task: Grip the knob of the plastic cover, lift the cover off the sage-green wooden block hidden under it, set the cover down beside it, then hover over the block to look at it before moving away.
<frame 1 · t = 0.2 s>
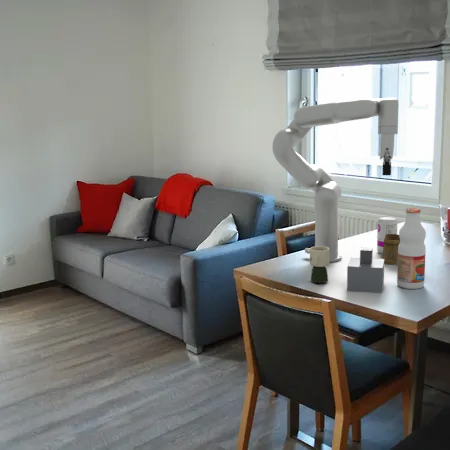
hand: (386, 173, 241), 37 cm above the table, tool pointing down, fingers open, 9 cm apart
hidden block: (365, 281, 218), in the cover
wooden mug: (397, 262, 248), on the table
fruit juice: (410, 286, 218), on the table
supplement can: (386, 252, 264), on the table
character mug: (319, 282, 225), on the table
cover: (365, 286, 218), on the table
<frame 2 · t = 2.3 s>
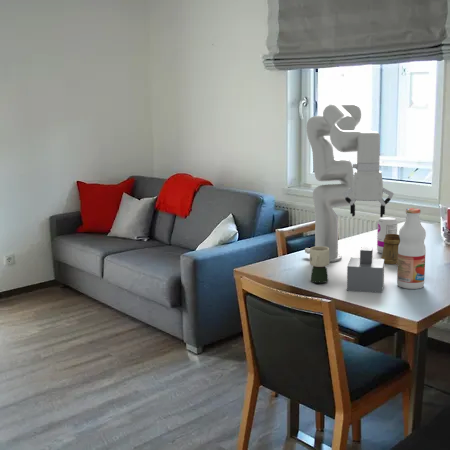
hand: (367, 216, 212), 26 cm above the table, tool pointing down, fingers open, 9 cm apart
nothing on the table moved.
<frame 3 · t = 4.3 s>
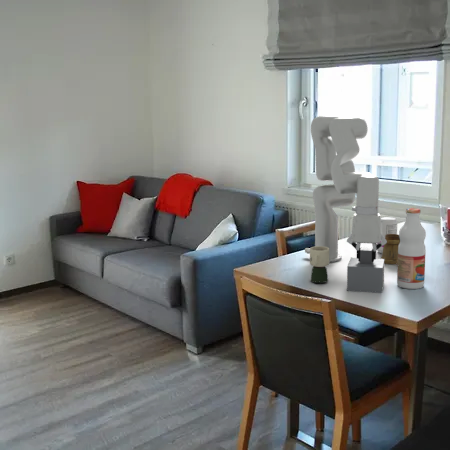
hand: (366, 260, 216), 10 cm above the table, tool pointing down, fingers closed on cover, 4 cm apart
cover: (365, 286, 218), on the table, touching gripper
everything else where it was.
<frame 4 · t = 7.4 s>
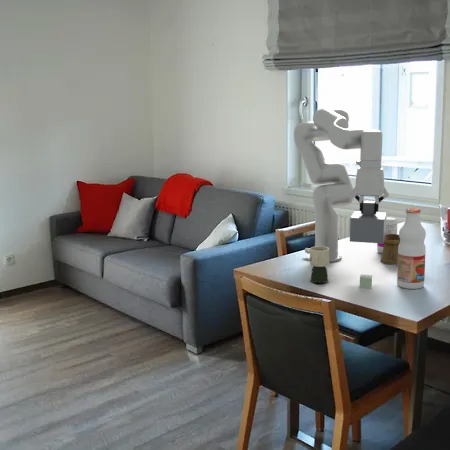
hand: (368, 212, 225), 25 cm above the table, tool pointing down, fingers closed on cover, 4 cm apart
cover: (367, 238, 227), point 15 cm above the table, touching gripper
everything else where it was.
when the fingers open (11 cm above the table, at t = 10.8 s): cover stays where it is, on the table.
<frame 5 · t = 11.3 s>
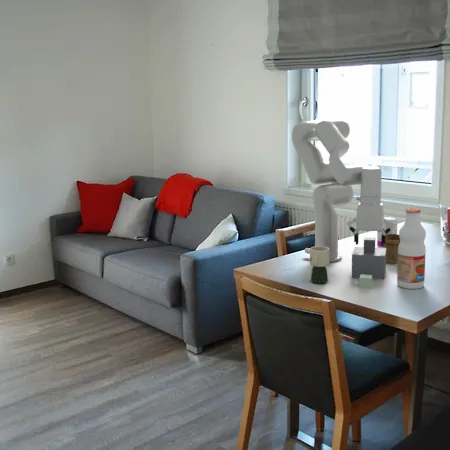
hand: (369, 244, 231), 12 cm above the table, tool pointing down, fingers open, 9 cm apart
cover: (368, 274, 233), on the table
everything else where it was.
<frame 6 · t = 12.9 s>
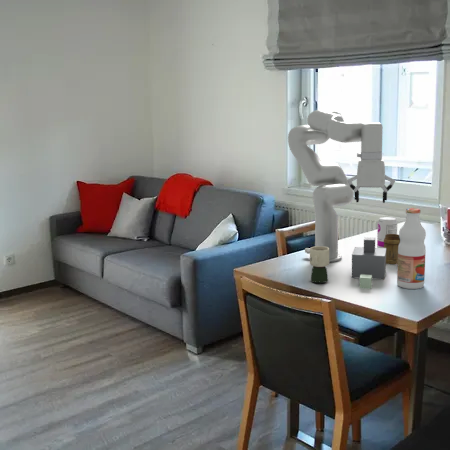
hand: (370, 202, 227), 28 cm above the table, tool pointing down, fingers open, 9 cm apart
nothing on the table moved.
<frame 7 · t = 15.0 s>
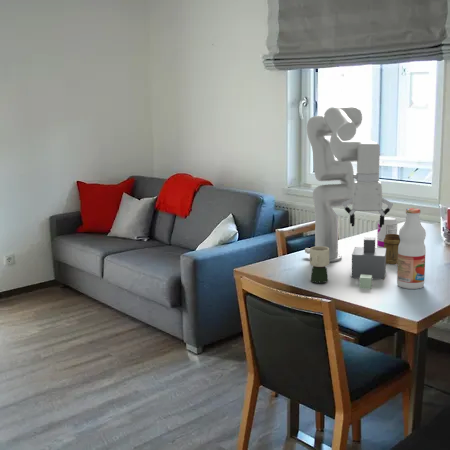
hand: (366, 226, 214), 22 cm above the table, tool pointing down, fingers open, 9 cm apart
nothing on the table moved.
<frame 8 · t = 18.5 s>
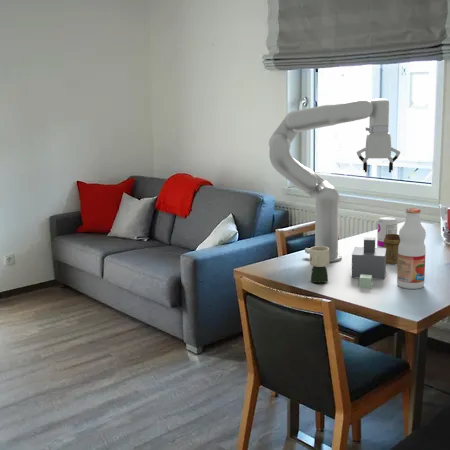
hand: (377, 172, 249), 36 cm above the table, tool pointing down, fingers open, 9 cm apart
nothing on the table moved.
at the end: cover inside the target area (0.1 cm from its centre), on the table; cover tilted 0°; cover touching table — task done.
